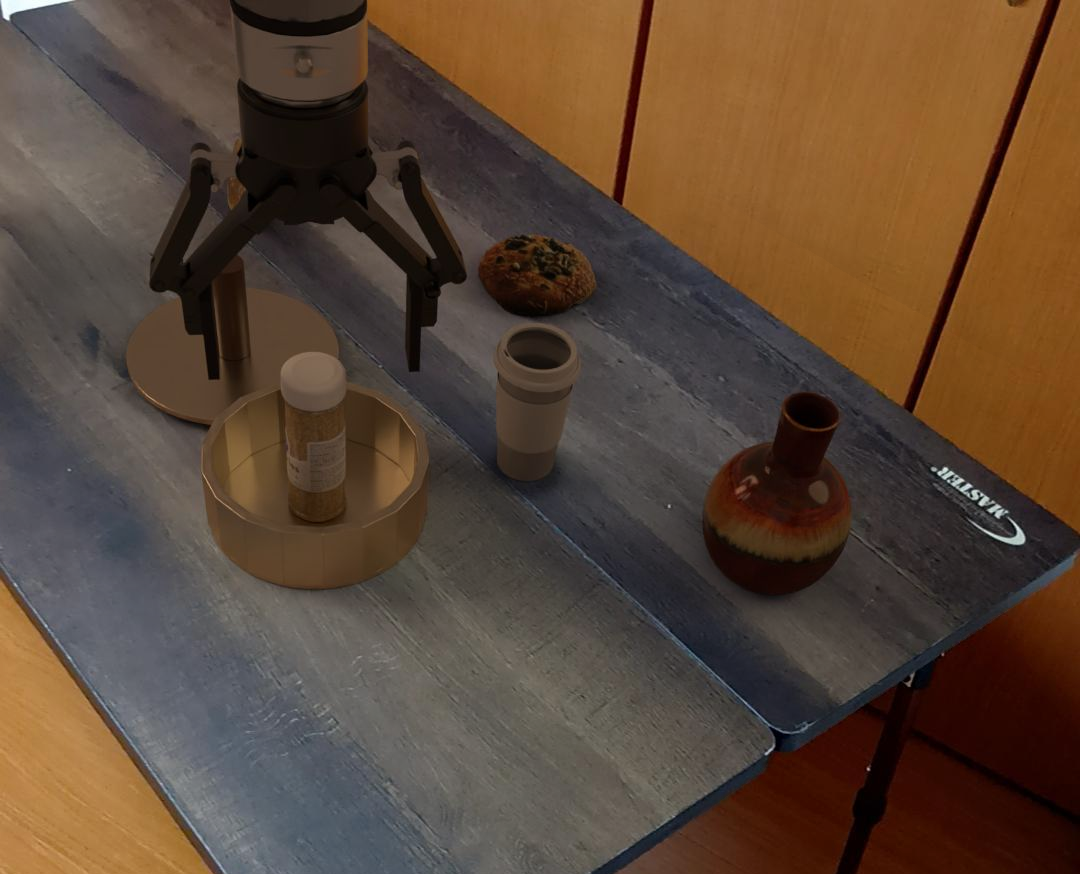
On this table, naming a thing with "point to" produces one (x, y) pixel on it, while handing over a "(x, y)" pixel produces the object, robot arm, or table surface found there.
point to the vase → (781, 504)
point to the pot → (263, 486)
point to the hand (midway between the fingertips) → (314, 363)
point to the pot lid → (223, 347)
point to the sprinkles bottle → (315, 435)
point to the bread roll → (536, 275)
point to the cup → (532, 397)
